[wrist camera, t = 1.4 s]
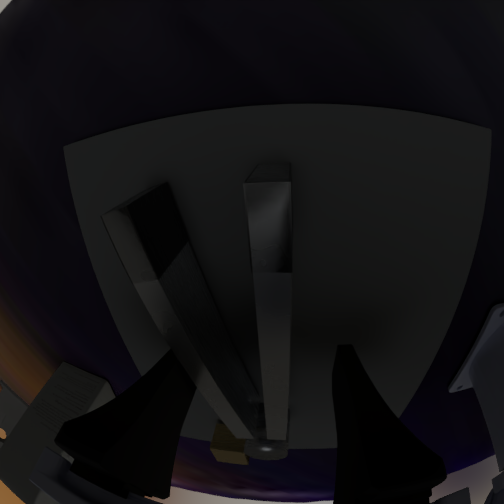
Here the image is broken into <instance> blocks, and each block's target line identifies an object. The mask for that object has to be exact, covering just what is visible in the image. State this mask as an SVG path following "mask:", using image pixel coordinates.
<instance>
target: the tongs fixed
mask: <svg viewBox="0 0 504 504" xmlns="http://www.w3.org/2000/svg"><path fill="white" fill-rule="evenodd" d="M243 189H244V200H245V211H246V223H247V234H248V245H249V257H250V268H251V273H253V281H254V292H255V304H256V316H257V327H258V339H259V350H260V362H261V374H262V385H263V397H264V403H260V405H259V411H258V418H257V424H256V430H255V436H254V439H246V440H245V446H244V453H245V454H246V455H248V456H250V457H253V458H256V459H262V460H278V459H282V458H285V457H286V456H287V453H288V442H289V430H290V416H291V411H290V409H289V393H290V369H291V335H292V269H293V204H292V174H291V163H262V164H257V166H256V167H255V168H254V170H253V171H252V172H251V174H250V175H249V176H248V177H247V179H246V180H245V181H244V183H243Z"/></svg>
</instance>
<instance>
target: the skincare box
mask: <svg viewBox="0 0 504 504" xmlns="http://www.w3.org/2000/svg"><path fill="white" fill-rule="evenodd" d="M114 398H115V395H114V393H113V391H112V389H111V386H110V384H109V383H108V381H106V380H105V379H103V378H100V377H98V376H96V375H93V374H91V373H88V372H86V371H84V370H82V369H79V368H77V367H75V366H73V365H71V364H68V363H66V362H62V364H61V365H60V366H59V368H58V369H57V370H56V371H55V373H54V374H53V375H52V376H51V378H50V379H49V380H48V382H47V383H46V384H45V386H44V387H43V388H42V389H41V391H40V392H39V393H38V395H37V396H36V397H35V399H34V400H33V402H32V403H31V404H30V406H29V407H28V408H27V410H26V411H25V413H24V414H23V416H22V417H21V418H20V420H19V421H18V423H17V424H16V426H15V427H14V429H13V430H12V432H11V433H10V435H9V436H8V438H7V439H6V441H5V442H4V444H3V445H2V447H1V449H0V480H1V481H2V482H3V483H4V484H5V485H6V486H7V487H8V488H9V489H10V490H11V491H12V492H13V493H15V494H16V496H18V497H19V498H20V499H21V500H22V501H23V502H24V503H26V504H59V503H57V502H56V501H55V500H54V499H52V498H51V497H50V496H49V495H47V494H46V493H45V492H43V491H42V490H41V489H40V488H38V487H37V486H36V485H35V484H34V483H32V482H31V481H30V480H29V477H30V475H31V473H32V471H33V469H34V467H35V465H36V463H37V461H38V459H39V457H40V456H41V454H42V452H43V450H44V448H45V447H48V448H50V449H51V450H53V451H54V452H56V453H58V454H59V455H61V456H62V457H64V458H65V459H67V460H68V461H69V462H71V464H72V463H73V461H74V458H72V457H71V456H70V455H68V454H67V453H66V452H64V451H63V450H62V449H61V448H60V447H58V446H57V445H56V444H55V442H54V439H55V437H56V436H57V434H58V432H59V430H60V429H61V427H62V425H63V423H64V422H65V421H68V420H71V419H74V418H77V417H79V416H82V415H84V414H86V413H89V412H91V411H93V410H95V409H97V408H99V407H101V406H102V405H104V404H106V403H107V402H109V401H111V400H112V399H114Z"/></svg>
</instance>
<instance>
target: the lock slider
mask: <svg viewBox="0 0 504 504" xmlns="http://www.w3.org/2000/svg"><path fill="white" fill-rule="evenodd" d="M245 440H246V439H239V438H236V437H235V436H234V435H233V433H232V432H231V431H230V430H229V428H228V427H227V426H226V425H225V424H218V423H216V426H215V430H214V434H213V438H212V442H211V445H210V449H211V451H212V453H213V455H214V456H215V458H216V460H217V461H221V462H227V463H235V464H243V465H248V464H249V458H250V456H248V455H246V454H245V453H244V446H245Z"/></svg>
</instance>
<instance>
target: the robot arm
mask: <svg viewBox="0 0 504 504" xmlns="http://www.w3.org/2000/svg"><path fill="white" fill-rule="evenodd" d="M471 387H473V388H474V390H475V393H476V395H477V398H478V400H479V403H480V406H481V409H482V411H483V414H484V417H485V420H486V423H487V426H488V429H489V433H490V436H491V439H492V443H493V447H494V450H495V454H496V458H497V463H498V467H499V472H501V471H503V470H504V303H502V304H497V305H495V306H493V307H492V309H491V310H490V312H489V314H488V317H487V319H486V321H485V323H484V325H483V327H482V329H481V331H480V333H479V335H478V337H477V339H476V341H475V343H474V345H473V347H472V349H471V350H470V352H469V354H468V356H467V357H466V359H465V361H464V363H463V364H462V366H461V368H460V369H459V371H458V373H457V374H456V376H455V377H454V379H453V380H452V382H451V383H450V385H449V387H448V390H449V392H450V393H452V392H456V391H460V390H464V389H467V388H471ZM196 389H197V387H196V385H195V384H194V382H193V381H192V380H191V378H190V377H189V375H188V374H187V372H186V371H185V369H184V368H183V366H182V365H181V363H180V362H179V360H178V359H177V357H176V356H175V354H174V353H173V351H172V350H171V349H170V350H169V351H168V352H167V353H166V354H165V355H164V356H163V357H162V358H161V359H160V360H159V361H158V362H157V363H156V364H155V365H154V366H153V367H152V368H151V369H150V370H149V371H148V372H147V373H146V374H145V375H143V376H142V377H141V378H140V379H139V380H138V381H137V382H135V383H134V384H133V385H132V386H131V387H129V388H128V389H127V390H125V391H124V392H123V393H121V394H120V395H118V396H117V397H115V398H114V399H112V400H111V401H109V402H107V403H106V404H104V405H102V406H101V407H99V408H97V409H95V410H93V411H91V412H89V413H86V414H84V415H82V416H79V417H77V418H74V419H71V420H68V421H65V422H64V423H63V425H62V427H61V429H60V430H59V432H58V434H57V436H56V437H55V439H54V442H55V444H56V445H57V446H58V447H60V448H61V449H62V450H63V451H64V452H66V453H67V454H68V455H70V456H71V457H72V458H74V461H73V463H72V464H71V462H69V461H68V460H67V459H65V458H64V457H62V456H61V455H59V454H58V453H56V452H54V451H53V450H51V449H50V448H48V447H45V448H44V450H43V452H42V454H41V456H40V457H39V459H38V461H37V463H36V465H35V467H34V469H33V471H32V473H31V475H30V477H29V480H30V481H31V482H32V483H34V484H35V485H36V486H37V487H38V488H40V489H41V490H42V491H43V492H45V493H46V494H47V495H49V496H50V497H51V498H52V499H54V500H55V501H56V502H57V503H59V504H163V503H159V502H156V501H153V500H150V499H147V498H145V497H144V496H148V497H152V496H154V497H157V498H160V499H166V498H168V497H169V496H170V487H171V478H172V472H173V466H174V460H175V455H176V450H177V445H178V441H179V437H180V433H181V429H182V426H183V423H184V421H185V418H186V415H187V413H188V410H189V407H190V405H191V402H192V400H193V397H194V394H195V391H196ZM332 397H333V405H334V414H335V422H336V431H337V468H336V482H335V493H334V501H333V504H471V501H470V493H469V488H464V489H462V490H459V491H457V492H455V493H452V494H449V495H447V496H444V497H442V498H440V499H438V500H436V501H435V502H432V503H429V497H430V496H432V490H431V489H432V488H433V487H435V486H437V485H439V484H440V483H442V482H443V481H444V480H445V479H446V478H447V474H446V469H445V465H444V462H443V459H442V458H441V457H440V456H438V455H437V454H436V453H434V452H433V451H432V450H430V449H429V448H428V447H427V446H426V445H424V444H423V443H422V442H421V441H420V440H419V439H418V438H417V437H416V436H415V435H414V434H413V433H412V432H411V431H410V430H409V429H408V428H407V427H406V426H405V425H404V424H403V423H402V422H401V421H400V420H399V419H398V417H397V416H396V415H395V414H394V413H393V411H392V410H391V409H390V408H389V406H388V405H387V404H386V402H385V401H384V399H383V398H382V396H381V395H380V393H379V392H378V391H377V389H376V387H375V386H374V384H373V382H372V381H371V379H370V377H369V376H368V374H367V372H366V371H365V369H364V367H363V365H362V363H361V361H360V359H359V357H358V355H357V353H356V351H355V349H354V347H353V345H352V344H346V345H337V351H336V356H335V361H334V366H333V370H332ZM492 484H493V489H492V490H491V492H490V493H489V495H488V497H487V499H486V501H485V503H484V504H504V471H503V472H502V473H501V474H499V475H498V476H496V477H495V478H493V479H492Z"/></svg>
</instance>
